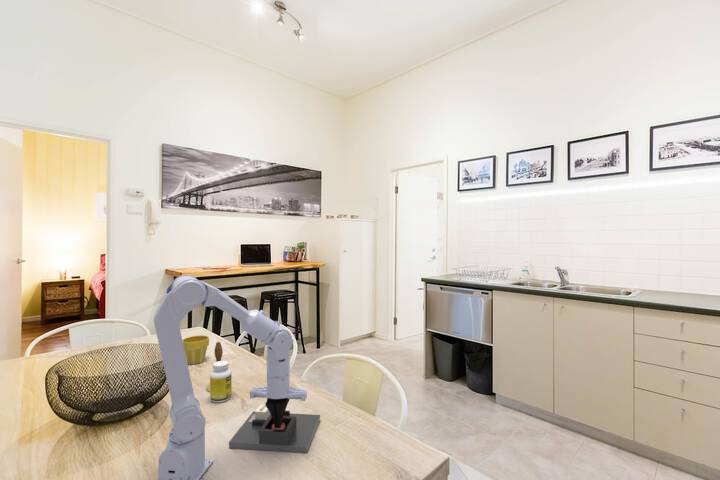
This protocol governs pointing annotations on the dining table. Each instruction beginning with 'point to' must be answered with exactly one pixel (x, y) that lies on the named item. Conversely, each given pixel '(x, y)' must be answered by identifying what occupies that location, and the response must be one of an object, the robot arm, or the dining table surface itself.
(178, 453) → the robot arm
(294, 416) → the panel
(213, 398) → the pill bottle
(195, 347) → the plant pot
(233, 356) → the dining table surface
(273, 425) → the button
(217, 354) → the hand bell
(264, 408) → the sliding toggle
